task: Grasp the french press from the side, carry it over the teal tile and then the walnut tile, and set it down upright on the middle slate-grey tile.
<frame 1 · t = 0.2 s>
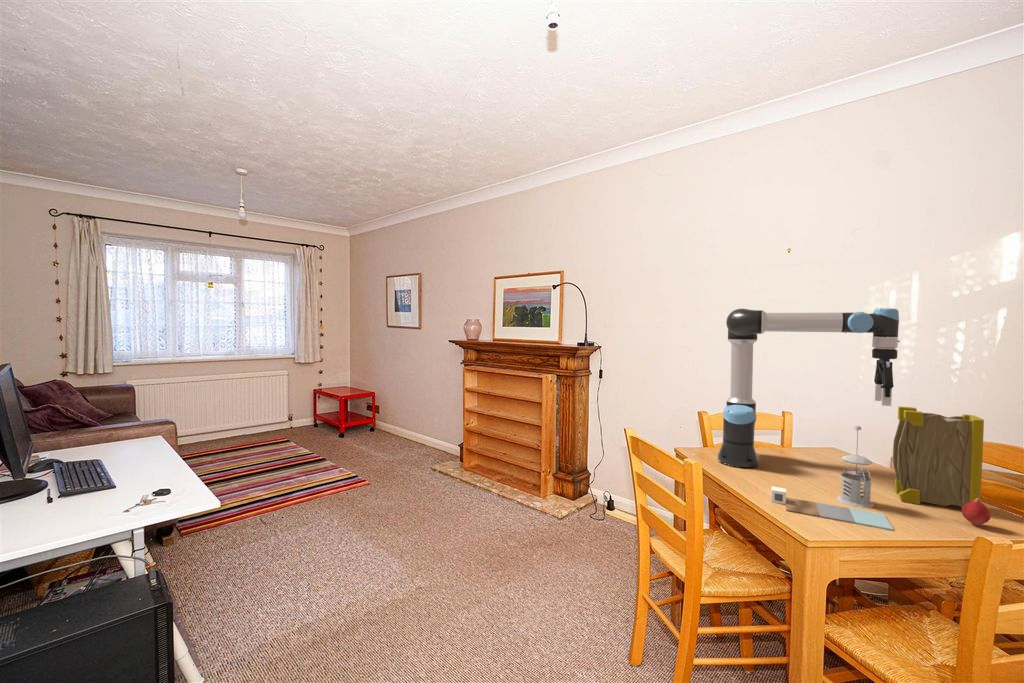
hand: (882, 403, 173), 28 cm above the table, tool pointing down, fingers open, 13 cm apart
tile slate: (834, 513, 136), on the table
onion: (975, 526, 129), on the table
decorative book: (933, 503, 146), on the table
tile walnut: (801, 507, 141), on the table
letter cube: (778, 501, 145), on the table
french press: (856, 503, 145), on the table
tile teal: (869, 519, 132), on the table
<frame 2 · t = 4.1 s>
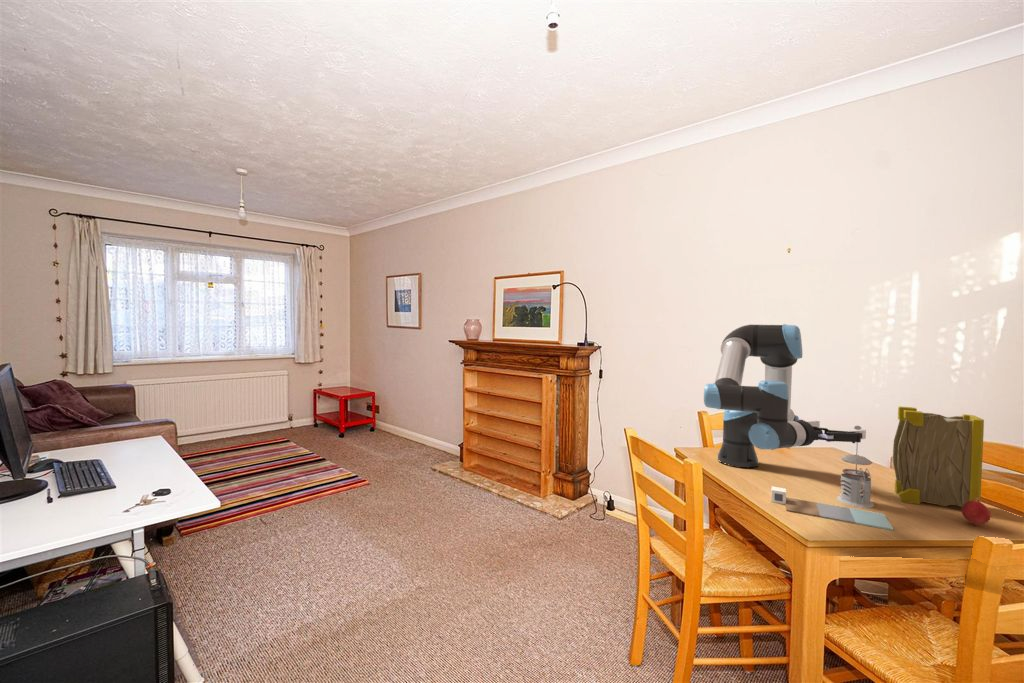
hand: (840, 429, 141), 25 cm above the table, tool horizontal, fingers open, 13 cm apart
nothing on the table moved.
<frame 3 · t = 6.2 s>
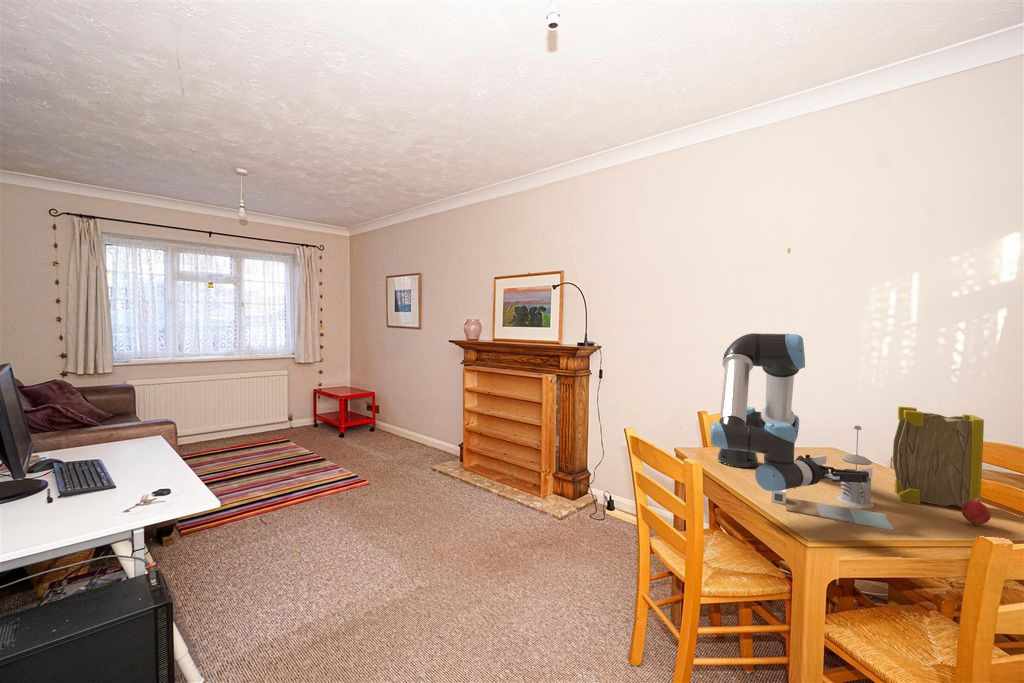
hand: (847, 465, 142), 13 cm above the table, tool horizontal, fingers open, 13 cm apart
nothing on the table moved.
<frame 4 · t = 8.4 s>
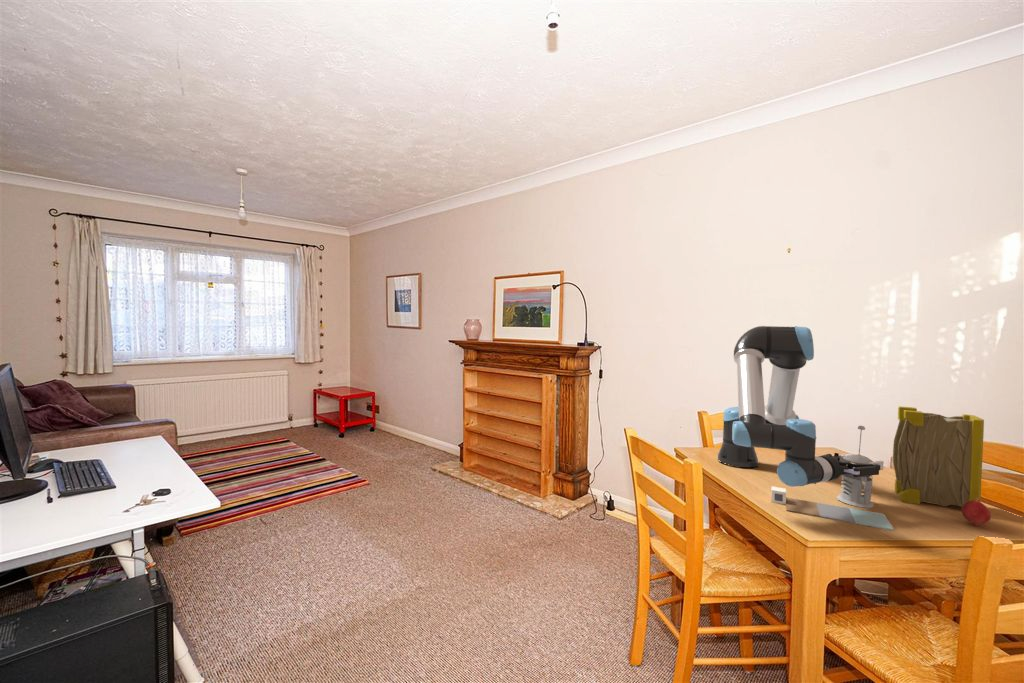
hand: (867, 461, 146), 13 cm above the table, tool horizontal, fingers closed on french press, 8 cm apart
french press: (856, 502, 145), on the table, touching gripper
everything else where it was.
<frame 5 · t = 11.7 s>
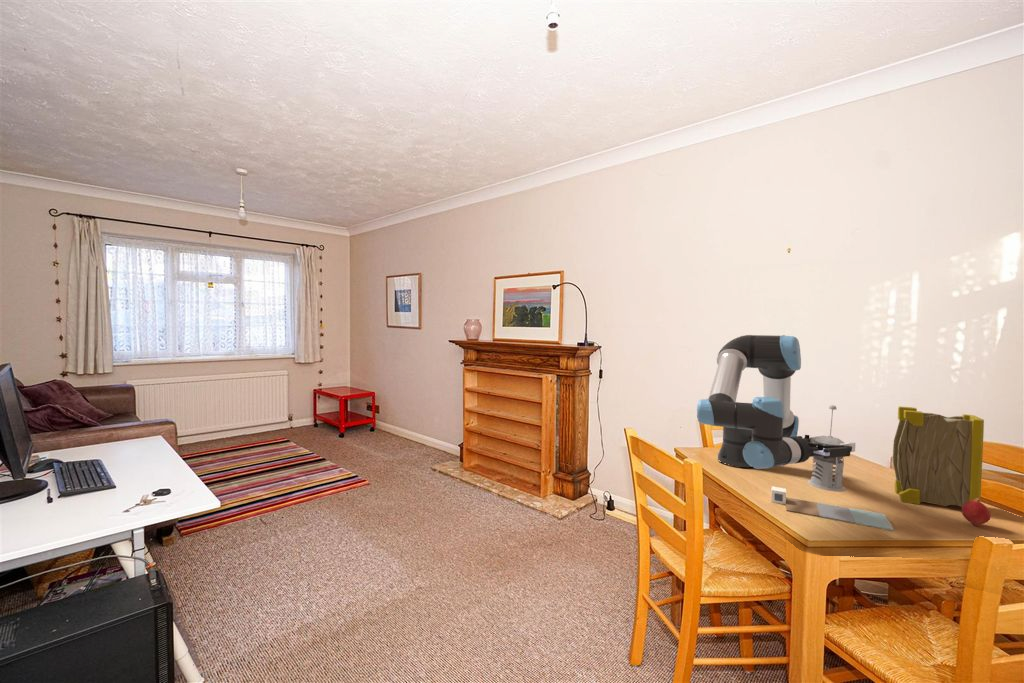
hand: (838, 443, 139), 21 cm above the table, tool horizontal, fingers closed on french press, 8 cm apart
french press: (827, 487, 137), point 8 cm above the table, touching gripper
everything else where it was.
when the fingers open (14 cm above the table, at t = 14.9 s): french press drops 1 cm, resting on tile slate, tile teal, tile walnut.
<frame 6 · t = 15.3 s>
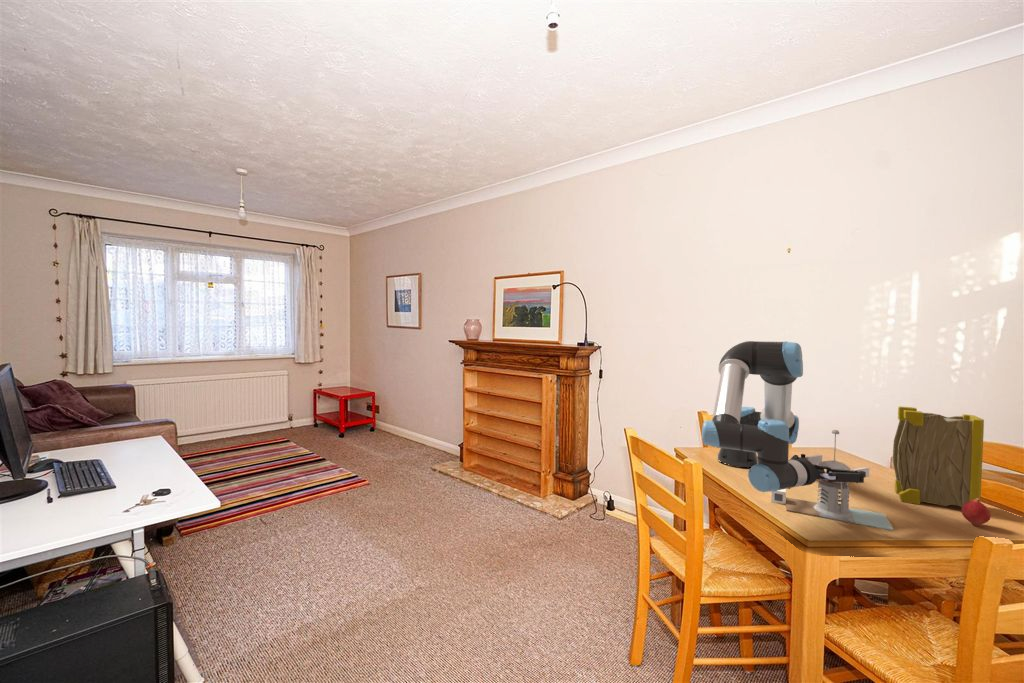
hand: (843, 465, 137), 14 cm above the table, tool horizontal, fingers open, 13 cm apart
french press: (834, 512, 136), resting on tile slate, tile teal, tile walnut
everything else where it was.
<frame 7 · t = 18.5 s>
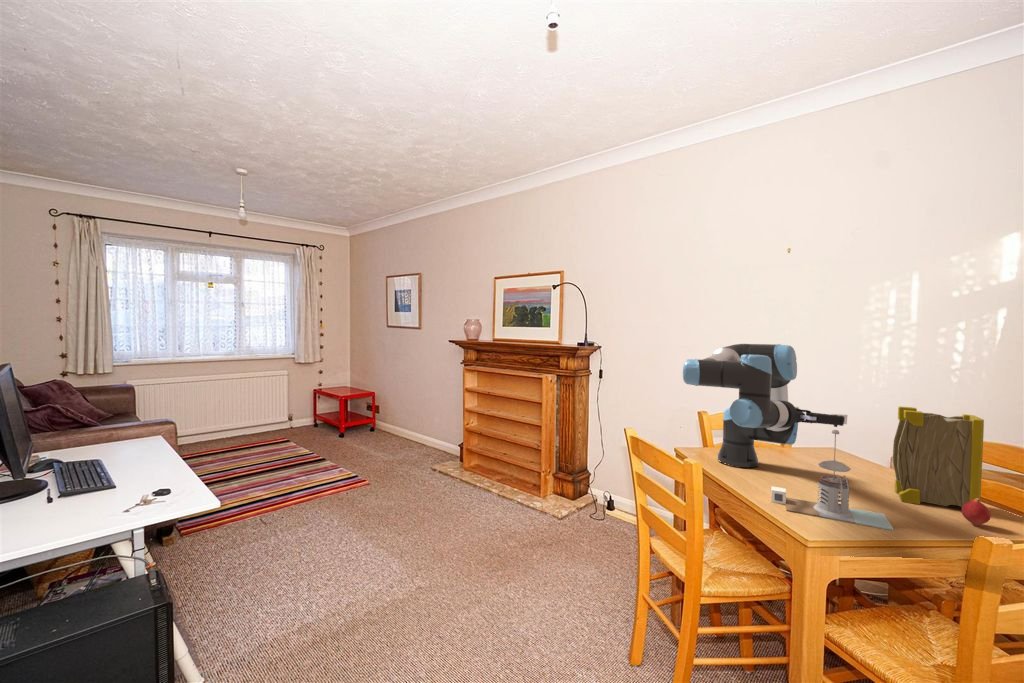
hand: (820, 414, 134), 30 cm above the table, tool horizontal, fingers open, 13 cm apart
nothing on the table moved.
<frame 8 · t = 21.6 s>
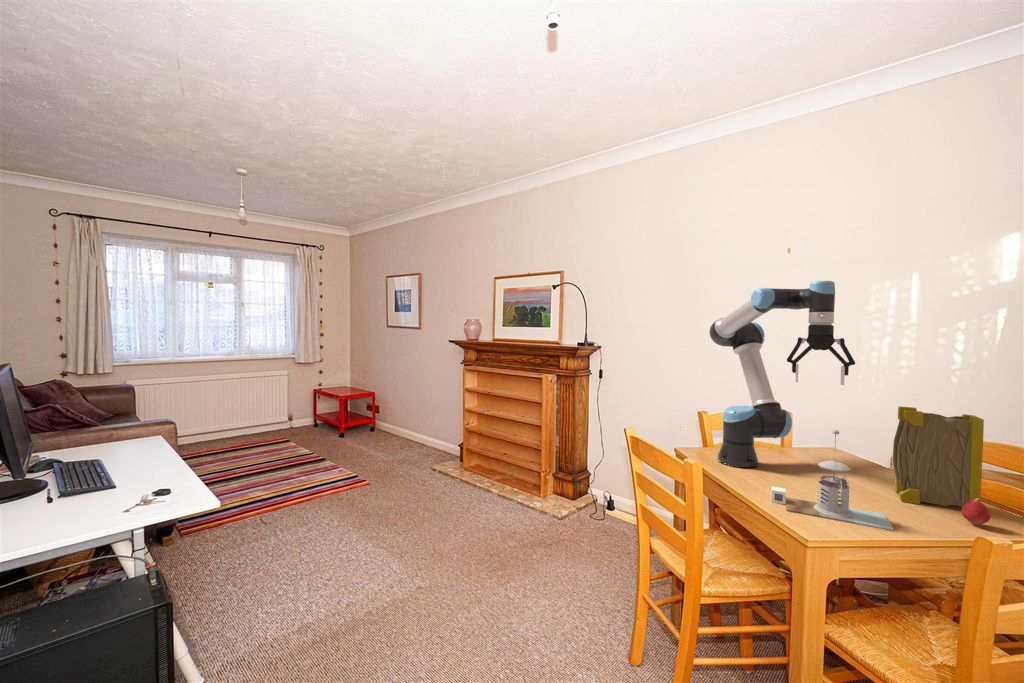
hand: (818, 383, 161), 37 cm above the table, tool pointing down, fingers open, 13 cm apart
nothing on the table moved.
at the end: french press inside the target area (0.2 cm from its centre), resting on tile slate; french press tilted 0°; the gripper is holding nothing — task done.
